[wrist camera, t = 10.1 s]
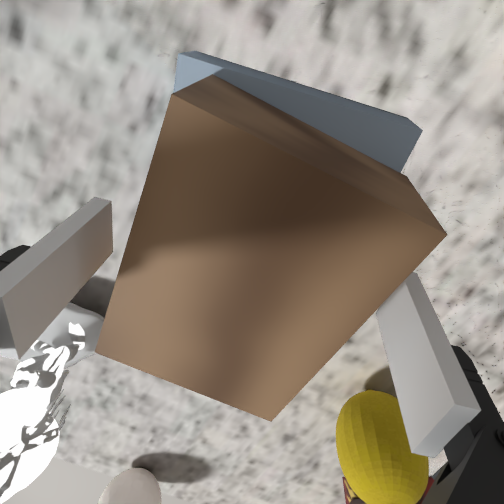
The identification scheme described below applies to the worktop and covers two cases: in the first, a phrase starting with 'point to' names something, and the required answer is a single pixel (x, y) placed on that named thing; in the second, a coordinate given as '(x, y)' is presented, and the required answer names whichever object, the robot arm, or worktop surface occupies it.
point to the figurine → (41, 397)
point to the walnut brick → (256, 250)
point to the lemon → (379, 451)
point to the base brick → (313, 108)
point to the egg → (132, 488)
